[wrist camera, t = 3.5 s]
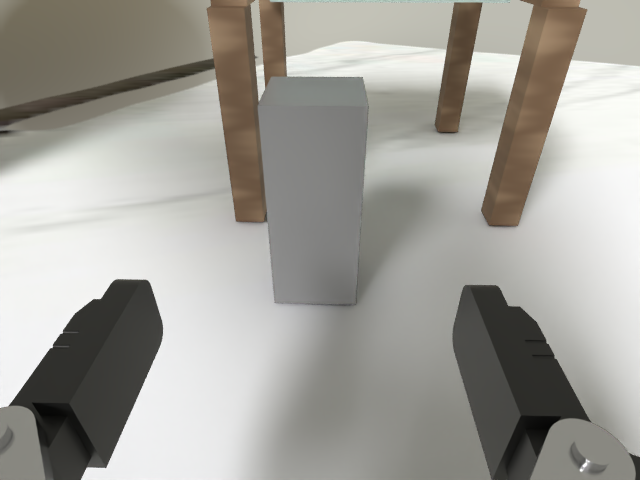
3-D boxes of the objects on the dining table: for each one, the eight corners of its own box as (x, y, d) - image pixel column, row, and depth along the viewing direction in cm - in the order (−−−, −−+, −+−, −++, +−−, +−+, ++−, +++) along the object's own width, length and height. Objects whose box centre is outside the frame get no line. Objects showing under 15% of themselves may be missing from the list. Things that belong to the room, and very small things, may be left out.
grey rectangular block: (274, 303, 23) (257, 105, 17) (282, 254, 27) (271, 76, 21) (355, 304, 23) (368, 106, 17) (353, 255, 27) (362, 77, 21)
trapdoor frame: (236, 221, 30) (203, -14, 22) (270, 123, 47) (259, -33, 38) (517, 225, 30) (594, -13, 21) (453, 125, 46) (482, -33, 38)
